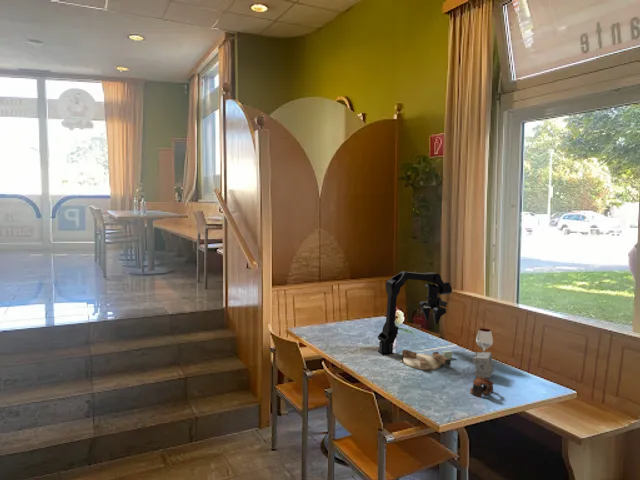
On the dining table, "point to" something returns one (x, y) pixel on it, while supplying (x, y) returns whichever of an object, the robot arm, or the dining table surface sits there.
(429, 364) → the stool seat
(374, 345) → the dining table surface
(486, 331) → the wineglass
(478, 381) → the reddish brown arched figure
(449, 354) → the stop cleat
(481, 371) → the incense holder
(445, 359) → the folding leg
